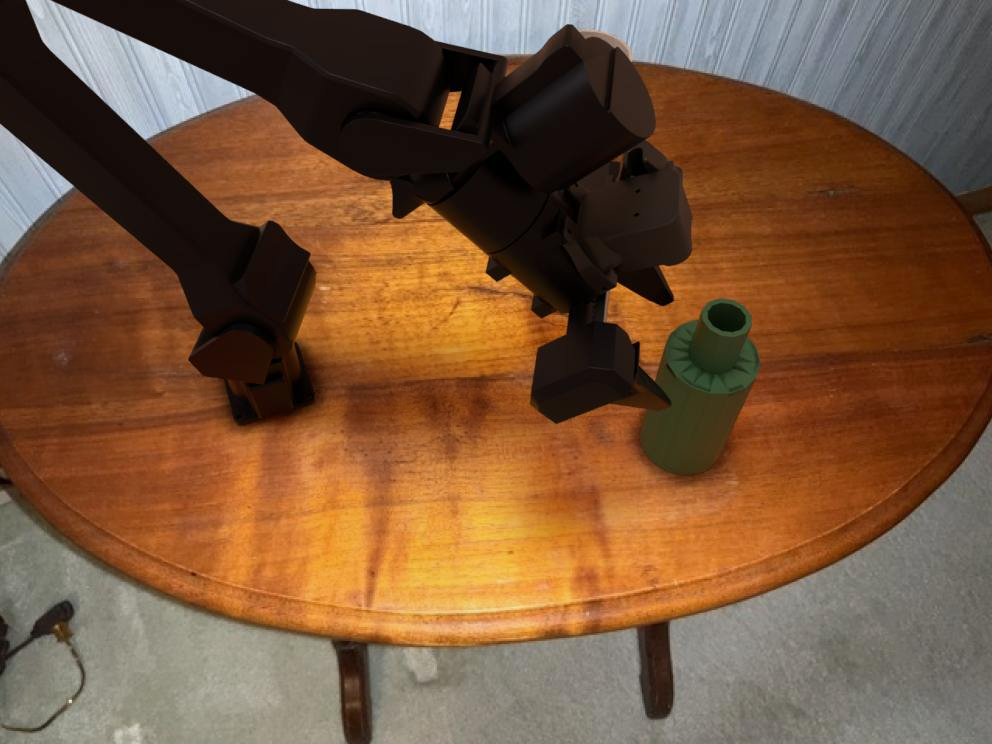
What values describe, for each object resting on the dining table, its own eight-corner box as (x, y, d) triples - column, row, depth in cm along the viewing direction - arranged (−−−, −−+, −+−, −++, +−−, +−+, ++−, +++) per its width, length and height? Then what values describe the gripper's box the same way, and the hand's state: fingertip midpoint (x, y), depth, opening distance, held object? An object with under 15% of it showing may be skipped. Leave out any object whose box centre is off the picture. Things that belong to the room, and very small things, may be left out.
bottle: (625, 420, 66) (659, 295, 54) (694, 396, 67) (742, 270, 55) (664, 486, 62) (709, 368, 50) (736, 459, 64) (797, 339, 52)
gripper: (612, 272, 38) (784, 431, 46) (632, 47, 49) (767, 207, 57) (450, 355, 45) (623, 481, 53) (499, 141, 56) (637, 272, 64)
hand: (667, 352), depth 56 cm, fingers open, 9 cm apart
